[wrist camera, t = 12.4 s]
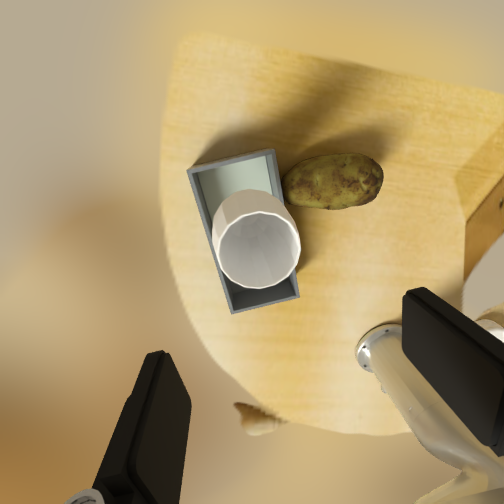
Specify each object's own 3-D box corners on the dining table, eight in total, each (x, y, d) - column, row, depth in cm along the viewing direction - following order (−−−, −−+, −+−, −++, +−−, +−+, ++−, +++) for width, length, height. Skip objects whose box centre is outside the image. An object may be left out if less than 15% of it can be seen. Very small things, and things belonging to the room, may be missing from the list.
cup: (242, 230, 39) (260, 310, 20) (205, 198, 37) (187, 257, 18) (275, 195, 38) (328, 248, 19) (239, 160, 35) (258, 179, 16)
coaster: (449, 357, 58) (463, 370, 55) (455, 323, 54) (470, 335, 51) (491, 347, 58) (507, 359, 55) (500, 313, 54) (517, 324, 51)
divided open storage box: (290, 278, 45) (299, 297, 40) (230, 293, 45) (231, 314, 40) (266, 148, 36) (274, 148, 31) (191, 166, 36) (186, 170, 31)
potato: (285, 140, 36) (302, 139, 29) (367, 157, 38) (401, 161, 31) (273, 197, 39) (284, 210, 32) (349, 211, 41) (376, 225, 34)
